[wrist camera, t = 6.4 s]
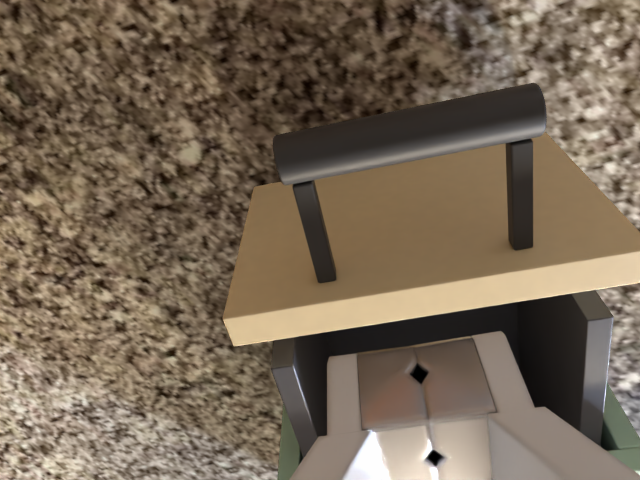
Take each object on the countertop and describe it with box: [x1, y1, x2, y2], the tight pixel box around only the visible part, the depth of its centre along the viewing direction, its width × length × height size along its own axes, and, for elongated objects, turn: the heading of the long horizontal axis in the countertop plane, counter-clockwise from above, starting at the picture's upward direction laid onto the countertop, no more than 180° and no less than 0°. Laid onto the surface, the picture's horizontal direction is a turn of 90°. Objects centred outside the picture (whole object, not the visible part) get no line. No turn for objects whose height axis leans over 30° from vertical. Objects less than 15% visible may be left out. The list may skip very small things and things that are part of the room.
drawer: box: [223, 83, 640, 458], centre depth 22 cm, size 20×13×9 cm, turn 12°
